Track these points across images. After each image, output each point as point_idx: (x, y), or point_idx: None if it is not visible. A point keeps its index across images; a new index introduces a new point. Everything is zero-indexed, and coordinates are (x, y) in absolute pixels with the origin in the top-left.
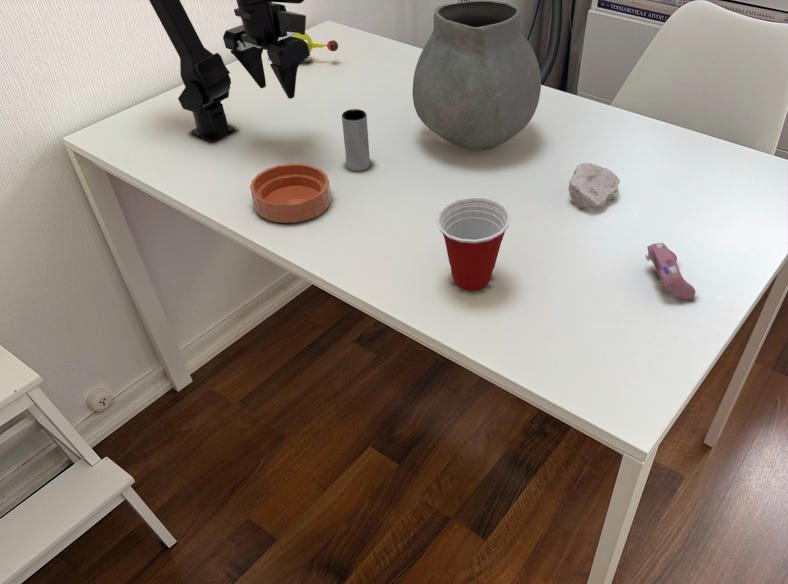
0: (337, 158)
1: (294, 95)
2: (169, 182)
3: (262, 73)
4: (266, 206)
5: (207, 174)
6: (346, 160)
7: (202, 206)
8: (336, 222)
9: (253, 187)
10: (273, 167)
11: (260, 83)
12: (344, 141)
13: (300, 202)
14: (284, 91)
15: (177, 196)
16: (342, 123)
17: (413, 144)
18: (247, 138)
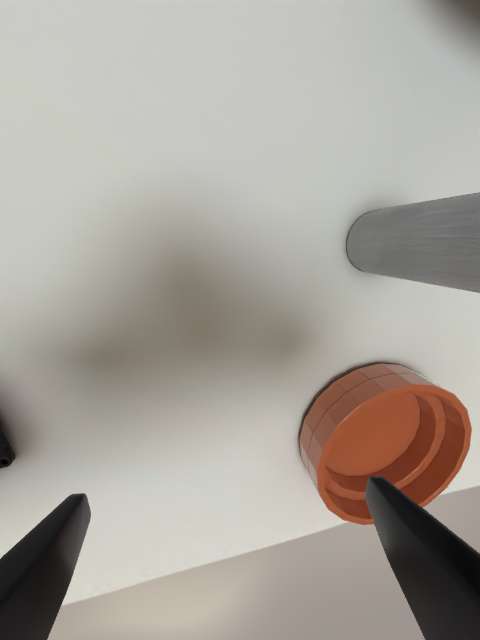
0: (309, 259)
1: (388, 481)
2: (140, 564)
3: (26, 592)
4: None
5: (161, 507)
6: (371, 272)
7: (257, 541)
8: (462, 399)
9: (351, 516)
10: (322, 459)
11: (75, 546)
12: (411, 278)
13: (456, 471)
14: (389, 560)
15: (197, 563)
16: (462, 284)
17: (421, 21)
18: (50, 380)
